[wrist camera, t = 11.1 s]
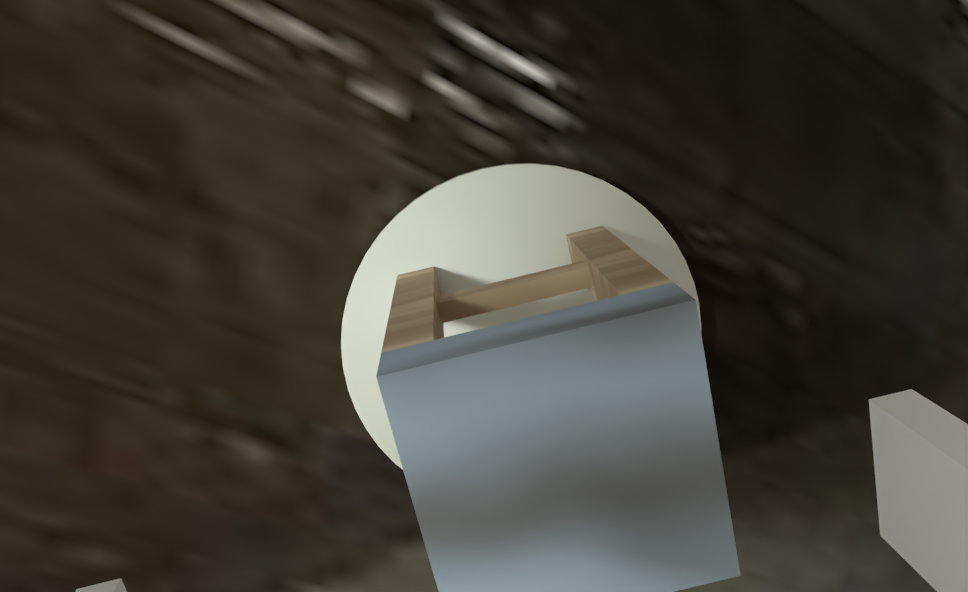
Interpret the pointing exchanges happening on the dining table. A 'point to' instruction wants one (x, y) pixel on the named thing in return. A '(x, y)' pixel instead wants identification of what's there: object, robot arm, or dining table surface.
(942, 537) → the robot arm
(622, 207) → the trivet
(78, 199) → the dining table surface
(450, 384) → the stool
